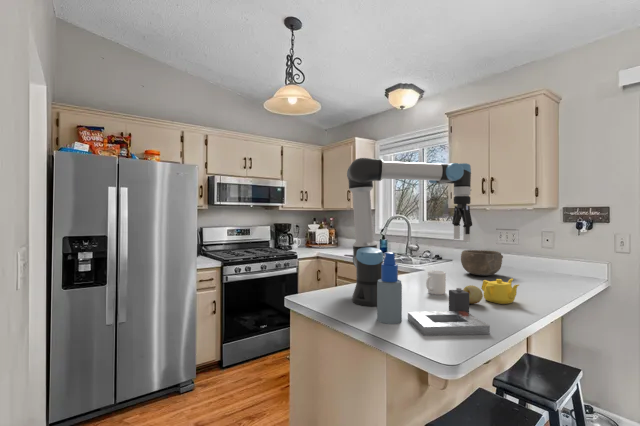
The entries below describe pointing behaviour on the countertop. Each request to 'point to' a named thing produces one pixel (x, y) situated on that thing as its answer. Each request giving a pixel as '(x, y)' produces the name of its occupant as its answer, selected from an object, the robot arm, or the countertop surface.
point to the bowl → (481, 261)
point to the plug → (458, 300)
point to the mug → (436, 282)
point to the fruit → (473, 294)
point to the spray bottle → (389, 292)
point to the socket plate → (448, 323)
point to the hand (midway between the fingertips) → (461, 240)
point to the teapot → (499, 291)
